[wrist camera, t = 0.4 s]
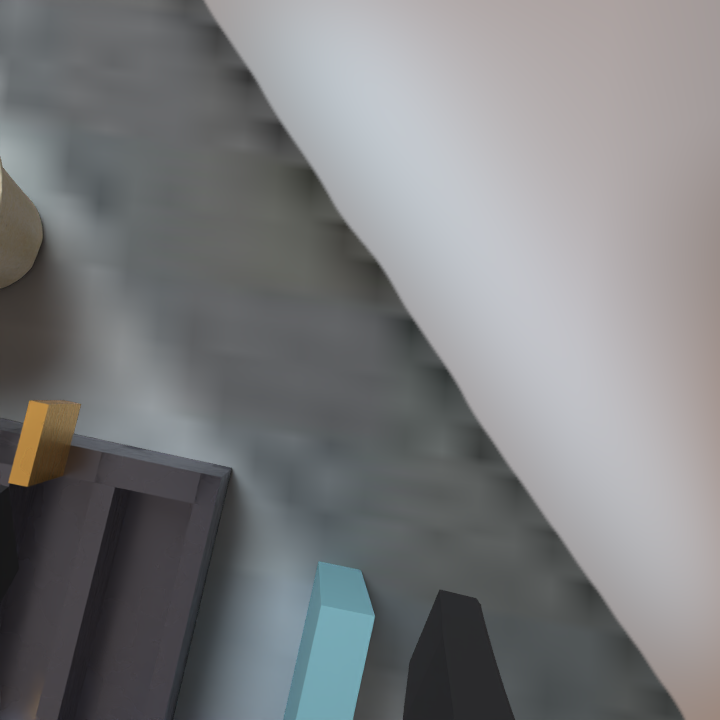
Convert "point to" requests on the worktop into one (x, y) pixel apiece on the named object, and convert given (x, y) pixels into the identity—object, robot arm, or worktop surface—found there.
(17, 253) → the flower pot
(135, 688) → the rack
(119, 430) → the worktop surface
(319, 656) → the block
